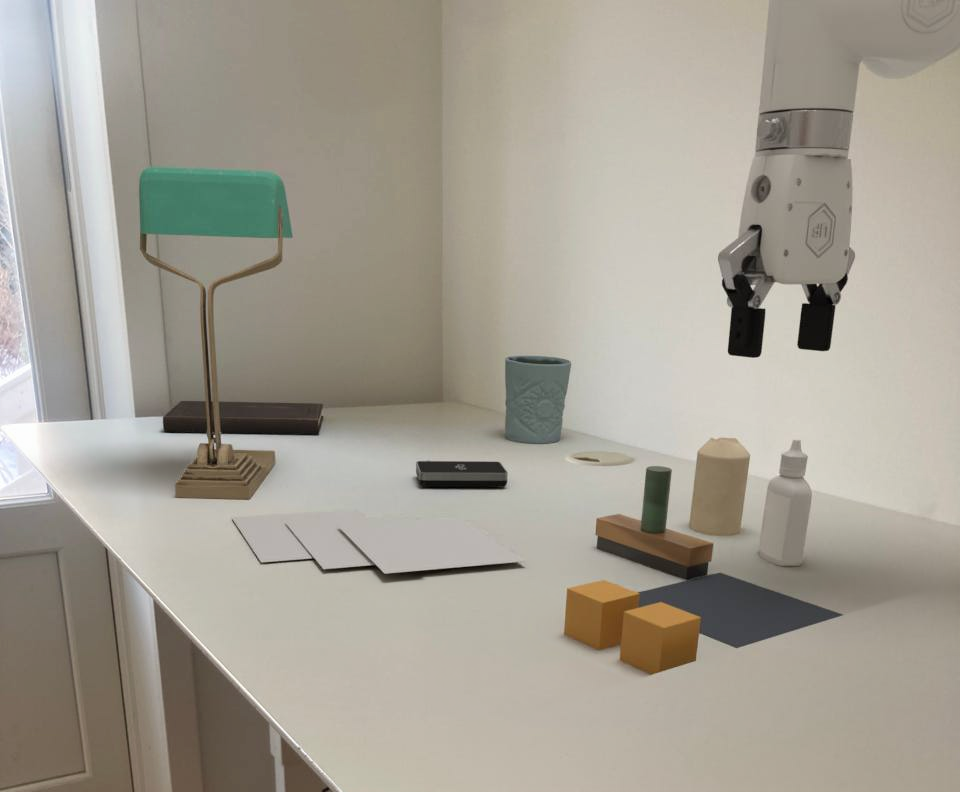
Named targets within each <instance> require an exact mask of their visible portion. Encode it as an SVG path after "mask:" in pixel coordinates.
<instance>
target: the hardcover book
mask: <svg viewBox="0 0 960 792" xmlns="http://www.w3.org/2000/svg"><path fill="white" fill-rule="evenodd" d="M211 404H212V420H213V432H215V424H214V408H213V400H211ZM323 407H324V403H311V402H310V403H308V402H266V401H265V402H264V401H263V402H259V401H256V402H255V401H219V417H220V432H221V433H222V434H255V435H256V434H259V435H261V434H263V435H265V434H266V435H315V436H316V435H317V436H319V435H320V431H321V427H322V424H323V421H324V415H323V414H322V411H323ZM162 427H163V432H164V433H201V434H203V433H204V434H207V413H206V400H180V401H179V402H178V403H177V404H176V405H175V406H174V407H173V408H171V409H170V410H169V411H168V412H167V413H166V414H165V415H164V416H162Z"/></svg>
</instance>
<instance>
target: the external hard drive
mask: <svg viewBox="0 0 960 792" xmlns="http://www.w3.org/2000/svg"><path fill="white" fill-rule="evenodd" d="M415 474H416V476H417V477H416V478H417V479H418V482H419V485H420V486H421V487H423V488H504V487H506V486H507V484H508V470H507V469H506V468H505V466H504V465H503V463H502V462H501V461H493V460H491V461H489V460H488V461H487V460H486V461H484V460H483V461H482V460H481V461H476V460H473V461H471V460H468V461H467V460H464V461H463V460H455V461H454V460H418V461H416V462H415Z"/></svg>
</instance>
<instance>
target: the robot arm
mask: <svg viewBox="0 0 960 792" xmlns="http://www.w3.org/2000/svg"><path fill="white" fill-rule="evenodd" d="M765 34H766V35H765V42H764V53H763V63H762V64H763V65H762V74H761V86H760V95H759V107H758V116H757V127H756V139H755V148H754V149H755V150H754V157H752V161H751V165H750V168H749V172H748V177H747V182H746V186H745V190H744V191H745V192H744V196H743V202H742V208H741V213H740V219H739V227H738V237H737V238H736V239H735V240H733V241H732V242H730V243H729V244H728V245H727V246H726V247H725V248H723V249H722V250H721V251H720V252H719V253H718V255H717V262H718V265H719V270H720V274H721V278H722V280H721V287H722V288H723V290H724V292H725V294H726V295H727V297H726V304H727V306H728V307H729V308H731V311H730V322H729V330H728V331H729V333H728V342H727V343H728V344H727V353H728V355H729V356H733V357H734V356H735V357H740V358H741V357H742V358H753V359H755V358H756V359H757V358H759V357H761V355H762V350H763V341H764V333H765V332H764V331H765V322H766V308H763V307H761V306H762V304H763V302H764V300H765V299H766V297H767V296H768V295H769V292H770V291H771V289H772V287H773V286H774V284H775V283H778V284H781V285H801V287H802V290H803V292H804V294H805V297H806V300H807V303H806V302H804V303H803V302H802V303H801V309H800V318H799V326H798V336H797V343H796V346H797V348H798V349H799V350H805V351H817V352H828V351H829V350H831V345H832V337H833V330H834V322H835V314H836V305H839V303H840V301H841V299H842V294H841V292H842V291H843V290H844V288H845V286H846V285H847V283H848V280H849V276H848V275H849V273H850V271H851V269H852V266H853V264H854V261H855V259H856V253H855V250H854V249H852V247H851V246H850V243H851V232H852V217H853V216H852V215H853V169H852V159H851V158H849V152H850V151H849V150H850V144H851V139H852V138H851V136H852V129H853V120H854V112H855V104H856V97H857V96H856V95H857V90H858V89H857V88H858V80H859V71H860V65H861V63H862V64H863V65H864V67H865V68H866V69H867V70H869V71H870V72H871V73H873V74H874V75H876V76H878V77H881V78H883V79H889V80H899V79H904V78H909V77H913V76H914V75H917V74H919V73H920V72H922V71H924V70H926V69H927V68H929V67H931V66H933V65H934V64H936V63H937V62H940V61H941V60H943V59H946V58H947V57H948V56H950V55H951V54H954V53H955V52H957V51H959V50H960V0H769V1H768V10H767V21H766V31H765ZM751 286H754V288H753V287H751Z"/></svg>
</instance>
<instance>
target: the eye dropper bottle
mask: <svg viewBox="0 0 960 792" xmlns="http://www.w3.org/2000/svg"><path fill="white" fill-rule="evenodd" d="M808 457H809V456H808V455H807V454H806V453H804V452H803V450H802V440H801V439H793V440H792V442H791V445H790V448H789V449H788V450H787V451H785V452H782V453H781V457H780V465H779V470H778V474H779V475H776V476H773V477H771V479H770V480H769V482H768V484H767V487H766V488H767V489H766V493H765V501H764V508H763V514H762V522H761V528H760V529H761V530H760V536H759V544H758V555H759V556H760V557H761V558H762V559H763V560H765V561H767V562H768V563H770V564H773V565H776V566H778V567H800V566H801V565H802V563H803V559H804V553H805V552H804V551H805V546H806V539H807V533H808V526H809V520H810V515H811V514H810V512H811V507H812V498H813V492H812V488H811V486H810V484H809V483H808V481H807V480H806V478H804V477H805V476H806V471H807V466H808V465H807V463H808Z"/></svg>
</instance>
